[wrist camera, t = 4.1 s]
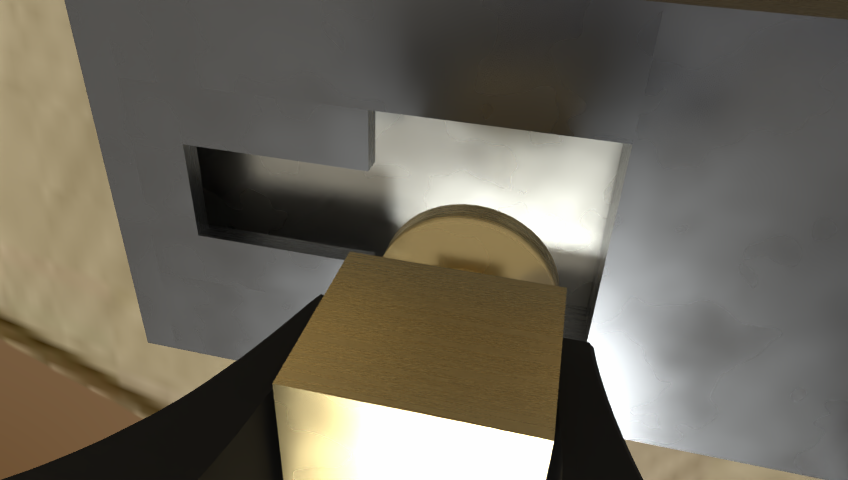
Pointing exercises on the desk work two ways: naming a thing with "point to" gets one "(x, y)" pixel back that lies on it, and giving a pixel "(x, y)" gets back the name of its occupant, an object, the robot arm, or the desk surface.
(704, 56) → the keyhole plate
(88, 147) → the desk surface
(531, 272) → the brass peg
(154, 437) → the robot arm
